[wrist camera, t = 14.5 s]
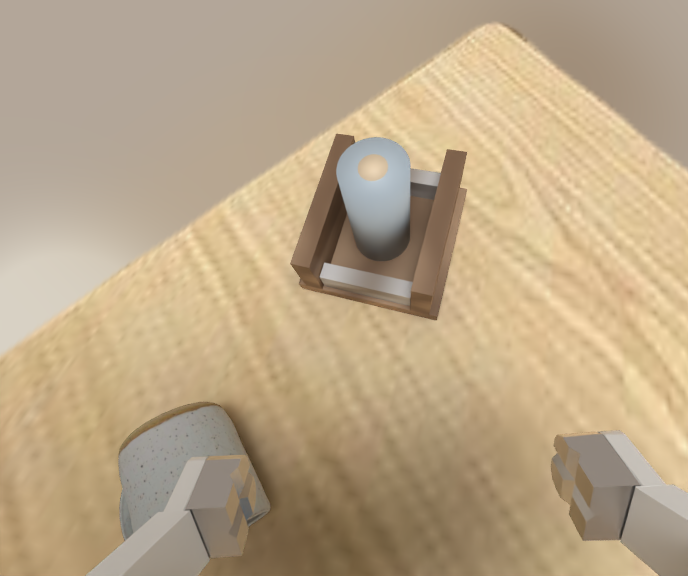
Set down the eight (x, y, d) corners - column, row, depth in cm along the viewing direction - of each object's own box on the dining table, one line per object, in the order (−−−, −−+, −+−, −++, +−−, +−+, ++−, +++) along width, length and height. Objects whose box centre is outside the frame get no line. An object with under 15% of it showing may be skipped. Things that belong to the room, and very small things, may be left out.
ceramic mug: (237, 397, 31) (183, 388, 24) (287, 500, 28) (243, 526, 21) (118, 475, 30) (27, 490, 23) (157, 588, 28) (65, 645, 20)
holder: (302, 287, 33) (282, 261, 28) (340, 174, 36) (329, 132, 31) (436, 320, 30) (441, 298, 25) (465, 195, 33) (475, 153, 28)
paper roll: (357, 264, 32) (337, 204, 23) (353, 215, 33) (334, 142, 25) (413, 257, 31) (414, 193, 23) (406, 208, 33) (406, 131, 24)
